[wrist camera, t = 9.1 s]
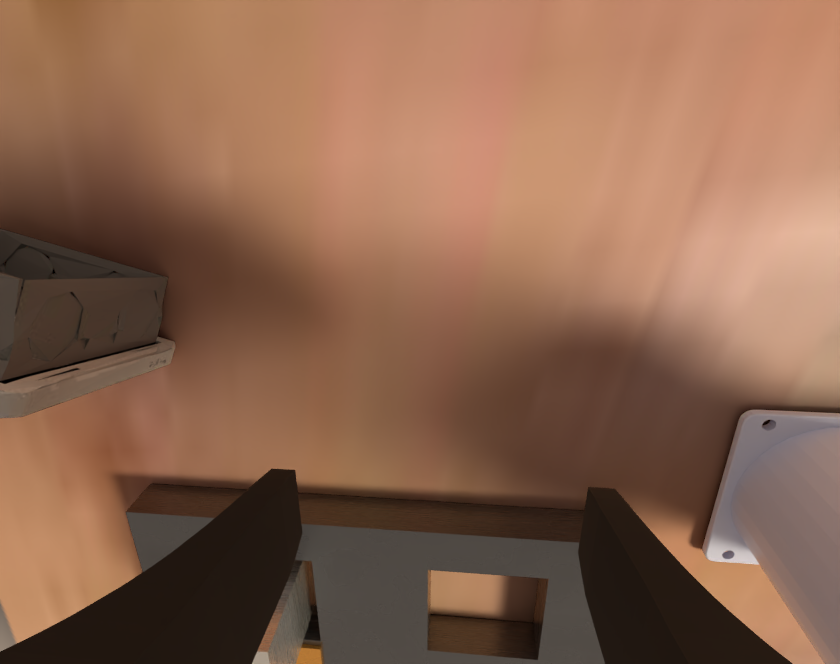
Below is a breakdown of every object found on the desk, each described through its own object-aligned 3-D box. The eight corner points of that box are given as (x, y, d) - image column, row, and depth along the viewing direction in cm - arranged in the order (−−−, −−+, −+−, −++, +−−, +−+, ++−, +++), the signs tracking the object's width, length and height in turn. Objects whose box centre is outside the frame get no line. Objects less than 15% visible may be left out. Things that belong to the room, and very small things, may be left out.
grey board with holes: (617, 513, 23) (631, 549, 21) (590, 656, 27) (600, 699, 25) (150, 483, 25) (122, 515, 23) (186, 621, 29) (165, 659, 27)
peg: (310, 539, 26) (267, 652, 20) (318, 595, 27) (279, 714, 22) (236, 535, 26) (174, 644, 21) (247, 590, 28) (192, 706, 22)
